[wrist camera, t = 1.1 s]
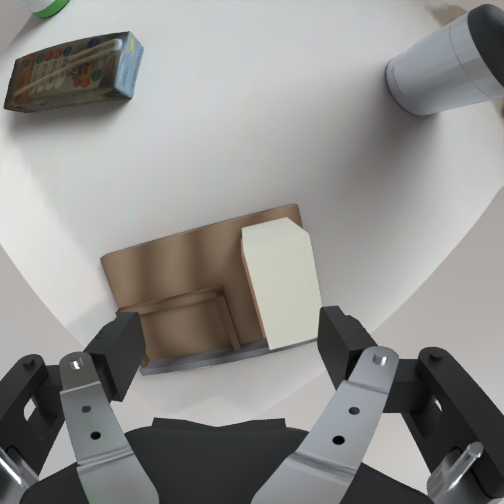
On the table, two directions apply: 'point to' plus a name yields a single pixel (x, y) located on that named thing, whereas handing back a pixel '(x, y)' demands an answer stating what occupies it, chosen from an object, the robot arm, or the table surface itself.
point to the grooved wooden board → (193, 295)
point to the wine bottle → (43, 6)
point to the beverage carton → (75, 73)
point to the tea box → (282, 281)
